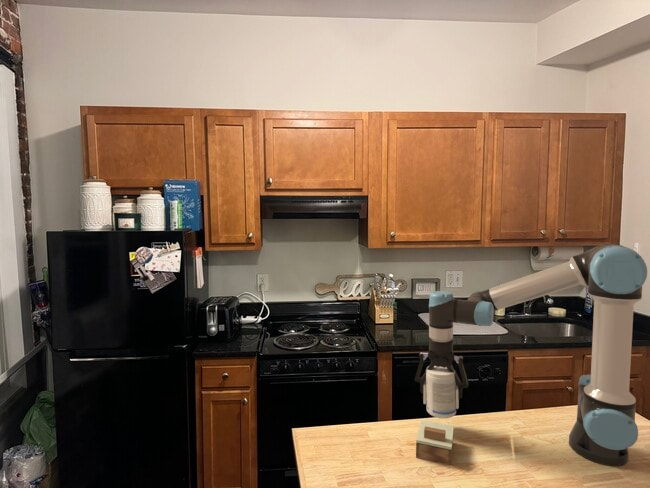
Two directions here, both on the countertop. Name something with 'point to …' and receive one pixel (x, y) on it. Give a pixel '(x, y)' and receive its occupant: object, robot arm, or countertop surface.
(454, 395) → the supplement tub
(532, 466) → the countertop surface
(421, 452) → the box
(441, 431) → the lid
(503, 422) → the countertop surface
